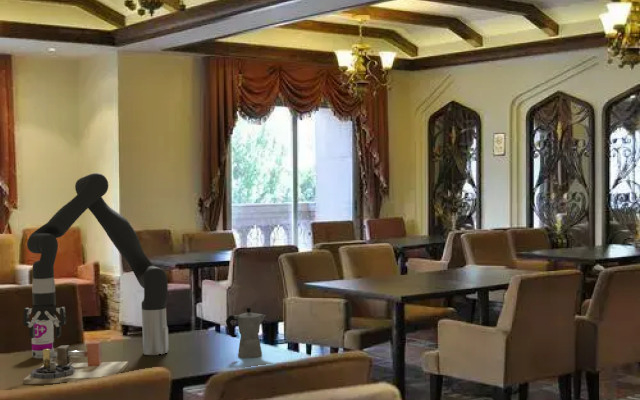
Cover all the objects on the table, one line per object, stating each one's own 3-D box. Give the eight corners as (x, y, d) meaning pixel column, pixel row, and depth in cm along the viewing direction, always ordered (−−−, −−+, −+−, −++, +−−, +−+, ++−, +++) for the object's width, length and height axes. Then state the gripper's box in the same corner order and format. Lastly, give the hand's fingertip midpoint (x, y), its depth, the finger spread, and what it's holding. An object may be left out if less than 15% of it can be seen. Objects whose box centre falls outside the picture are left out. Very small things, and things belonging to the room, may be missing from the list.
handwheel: (25, 373, 305) (25, 351, 305) (65, 367, 313) (65, 346, 313) (39, 380, 293) (38, 358, 293) (80, 374, 301) (79, 352, 301)
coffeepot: (263, 351, 338) (262, 304, 338) (270, 356, 329) (269, 307, 329) (224, 355, 333) (222, 307, 332) (230, 360, 324) (228, 311, 324)
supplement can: (47, 359, 336) (46, 319, 336) (28, 358, 338) (26, 319, 337) (58, 354, 344) (56, 316, 343) (38, 354, 346) (37, 315, 345)
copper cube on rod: (101, 363, 318) (101, 341, 318) (99, 365, 314) (98, 343, 314) (51, 364, 318) (50, 342, 318) (48, 367, 314) (47, 344, 314)
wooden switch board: (128, 365, 320) (127, 342, 320) (113, 381, 296) (112, 356, 296) (45, 368, 320) (44, 345, 320) (23, 384, 296) (22, 359, 296)
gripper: (67, 289, 311) (68, 335, 311) (26, 290, 311) (28, 336, 311) (61, 292, 303) (62, 339, 304) (19, 292, 303) (21, 340, 304)
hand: (45, 337), depth 308 cm, fingers open, 8 cm apart
